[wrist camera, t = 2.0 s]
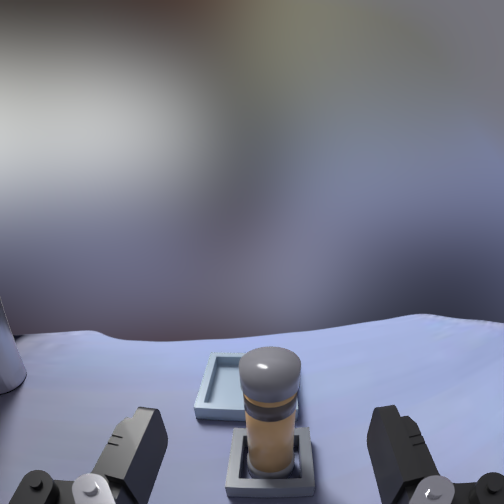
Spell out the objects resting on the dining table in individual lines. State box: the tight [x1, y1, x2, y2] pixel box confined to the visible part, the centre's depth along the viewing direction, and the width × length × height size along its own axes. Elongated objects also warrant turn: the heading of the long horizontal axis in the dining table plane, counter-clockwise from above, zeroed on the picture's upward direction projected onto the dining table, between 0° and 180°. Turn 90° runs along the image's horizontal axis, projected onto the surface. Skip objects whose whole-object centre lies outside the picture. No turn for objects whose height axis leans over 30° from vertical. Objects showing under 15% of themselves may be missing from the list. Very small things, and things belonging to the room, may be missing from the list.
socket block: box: [225, 427, 315, 498], centre depth 26 cm, size 8×8×2 cm
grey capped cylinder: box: [239, 347, 301, 479], centre depth 24 cm, size 5×5×14 cm
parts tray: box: [194, 352, 298, 421], centre depth 39 cm, size 12×12×2 cm
